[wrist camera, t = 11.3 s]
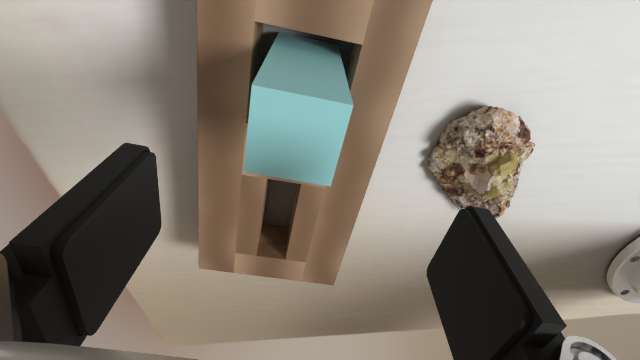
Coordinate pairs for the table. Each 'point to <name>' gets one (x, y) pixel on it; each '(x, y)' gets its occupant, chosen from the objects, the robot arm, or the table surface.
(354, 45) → the bore board
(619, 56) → the table surface
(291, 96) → the square peg
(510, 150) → the mineral rock
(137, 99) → the table surface
